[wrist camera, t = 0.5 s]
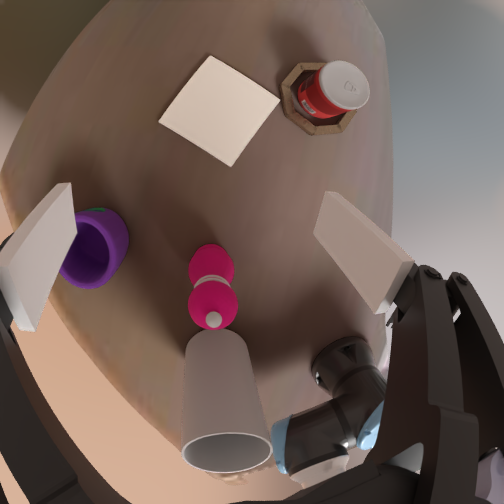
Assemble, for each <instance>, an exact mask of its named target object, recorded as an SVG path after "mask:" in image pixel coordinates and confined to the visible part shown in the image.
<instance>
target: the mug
mask: <svg viewBox="0 0 504 504" xmlns="http://www.w3.org/2000/svg"><path fill="white" fill-rule="evenodd" d="M74 215H75V222H76V228H77V234H76V236H75V238H74V240H73V242H72V244H71V246H70V248H69V250H68V252H67V254H66V256H65V259H64V261H63V263H62V265H61V267H60V269H59V272H60V273H61V275H62V276H63V277H64V278H65V279H66V280H67V281H68V282H70V283H71V284H73V285H75V286H77V287H80V288H86V289H92V288H98V287H100V286H102V285H104V284H105V283H106V282H107V281H108V280H109V279H110V278H111V277H112V276H113V274H114V273H115V272H116V271H117V269H118V267H119V266H120V264H121V263H122V261H123V259H124V257H125V255H126V252H127V249H128V245H129V234H128V230H127V227H126V225H125V223H124V221H123V220H122V219H121V217H120V216H119V215H118V214H117V213H115V212H114V211H112V210H110V209H107V208H90V209H86V210H83V211H80V212H76V213H74Z"/></svg>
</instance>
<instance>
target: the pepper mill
mask: <svg viewBox="0 0 504 504" xmlns="http://www.w3.org/2000/svg"><path fill="white" fill-rule="evenodd" d="M188 272H189V278H190V281H191V282H192V284H193V286H194V289H193V290H192V292H191V294H190V296H189V299H188V310H189V313H190V316H191V318H192V319H193V321H194V322H195V323H196V324H197V325H199V326H200V327H202V328H205V329H209V330H219V329H222V328H224V327H226V326H228V325H229V324H230V323H231V322H232V321H233V320H234V318H235V316H236V314H237V311H238V300H237V297H236V294H235V292H234V291H233V290H232V289H231V287H230V283H231V282H232V280H233V276H234V265H233V262H232V260H231V258H230V256H229V255H228V254H227V252H226V251H225V250H224V249H223V248H222V247H220V246H218V245H215V244H207V245H204V246H202V247H200V248H199V249H198V250H197V251H196V252H195V254H194V256H193V257H192V259H191V260H190V263H189V268H188Z"/></svg>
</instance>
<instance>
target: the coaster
mask: <svg viewBox="0 0 504 504" xmlns="http://www.w3.org/2000/svg"><path fill="white" fill-rule="evenodd" d="M279 101H280V99H278V98H277V97H276V96H274V95H273V94H271V93H270V92H268V91H267V90H265V89H264V88H262V87H261V86H260V85H258V84H256V83H255V82H253V81H252V80H250V79H249V78H247V77H246V76H244V75H243V74H241V73H239V72H238V71H236V70H234V69H233V68H231V67H229V66H228V65H226V64H224V63H223V62H221V61H219V60H217V59H216V58H214V57H212V56H209V57H208V58H207V60H206V61H205V62H204V63H203V64H202V65H201V67H200V68H199V69H198V70H197V71H196V72H195V74H194V75H193V76H192V77H191V79H190V80H189V81H188V82H187V84H186V85H185V86H184V87H183V89H182V90H181V91H180V93H179V94H178V95H177V97H176V98H175V99H174V101H173V102H172V103H171V105H170V106H169V107H168V109H167V110H166V112H165V113H164V114H163V116H162V117H161V119H160V120H159V123H161V124H162V125H164V126H166V127H167V128H169V129H171V130H172V131H174V132H176V133H177V134H179V135H181V136H182V137H184V138H186V139H187V140H189V141H190V142H192V143H194V144H195V145H197V146H198V147H200V148H202V149H203V150H205V151H206V152H208V153H209V154H211V155H212V156H214V157H216V158H217V159H219V160H220V161H222V162H223V163H225V164H226V165H228V166H229V167H232V165H233V164H234V162H235V161H236V160H237V158H238V157H239V155H240V154H241V152H242V151H243V150H244V148H245V147H246V145H247V144H248V143H249V141H250V140H251V139H252V137H253V136H254V134H255V133H256V132H257V130H258V129H259V128H260V126H261V125H262V124H263V122H264V121H265V120H266V118H267V117H268V116H269V114H270V113H271V112H272V110H273V109H274V108H275V107H276V105H277V104H278V103H279Z"/></svg>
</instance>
